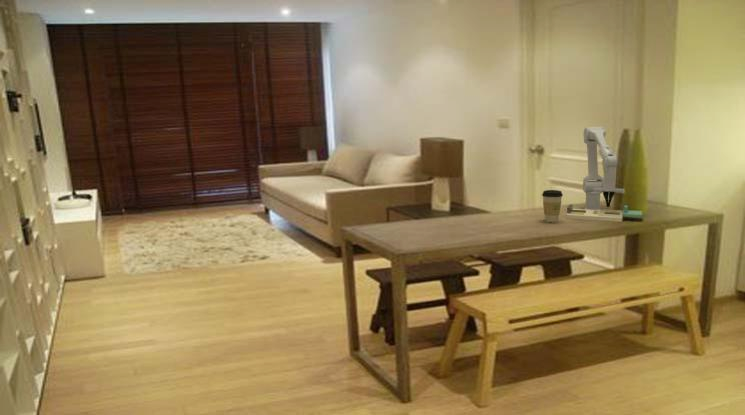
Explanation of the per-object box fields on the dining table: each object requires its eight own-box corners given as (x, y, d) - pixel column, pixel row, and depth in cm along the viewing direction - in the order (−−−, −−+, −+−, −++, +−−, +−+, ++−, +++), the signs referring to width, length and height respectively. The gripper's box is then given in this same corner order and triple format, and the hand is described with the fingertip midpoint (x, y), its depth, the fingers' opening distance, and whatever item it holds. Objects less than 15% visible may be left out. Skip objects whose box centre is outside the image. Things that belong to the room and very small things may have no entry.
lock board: (570, 212, 323) (570, 206, 322) (623, 215, 312) (623, 209, 311) (566, 218, 308) (566, 212, 308) (621, 221, 298) (622, 215, 297)
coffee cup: (564, 223, 299) (565, 192, 296) (544, 223, 299) (544, 193, 296) (558, 218, 308) (559, 189, 306) (539, 219, 309) (539, 190, 306)
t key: (569, 209, 319) (569, 204, 319) (586, 210, 316) (586, 205, 315) (567, 213, 311) (567, 207, 311) (584, 214, 308) (585, 208, 307)
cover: (622, 212, 308) (623, 204, 307) (642, 213, 304) (642, 205, 303) (621, 216, 300) (622, 207, 299) (641, 217, 296) (642, 208, 295)
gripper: (593, 180, 304) (592, 207, 307) (624, 181, 298) (623, 209, 301) (594, 178, 310) (593, 204, 313) (625, 179, 304) (624, 206, 307)
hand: (608, 206), depth 307 cm, fingers closed
